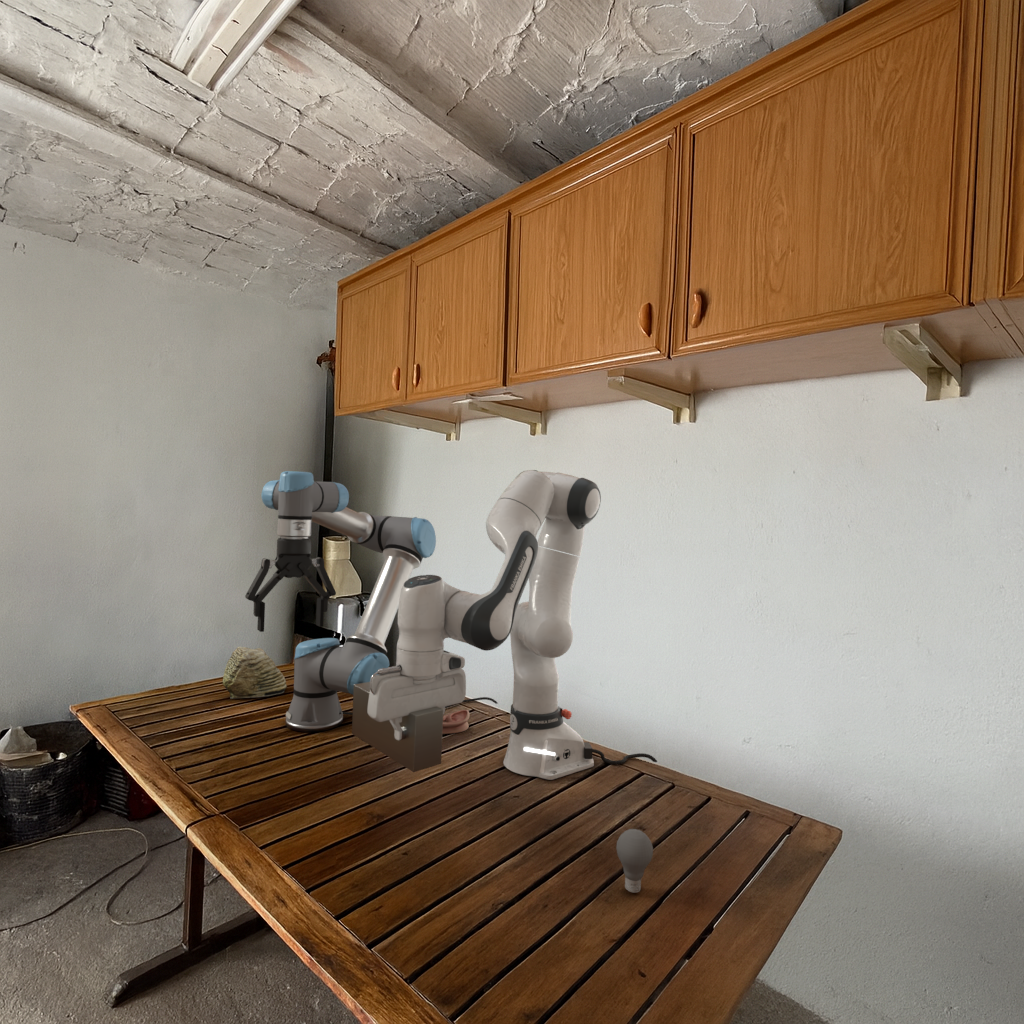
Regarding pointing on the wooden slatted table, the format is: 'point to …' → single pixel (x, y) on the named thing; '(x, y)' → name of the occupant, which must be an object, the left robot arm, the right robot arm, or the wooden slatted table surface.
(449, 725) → the anatomical model
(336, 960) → the wooden slatted table surface
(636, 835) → the light bulb
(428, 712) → the box
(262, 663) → the fossil
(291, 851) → the wooden slatted table surface
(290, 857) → the wooden slatted table surface
